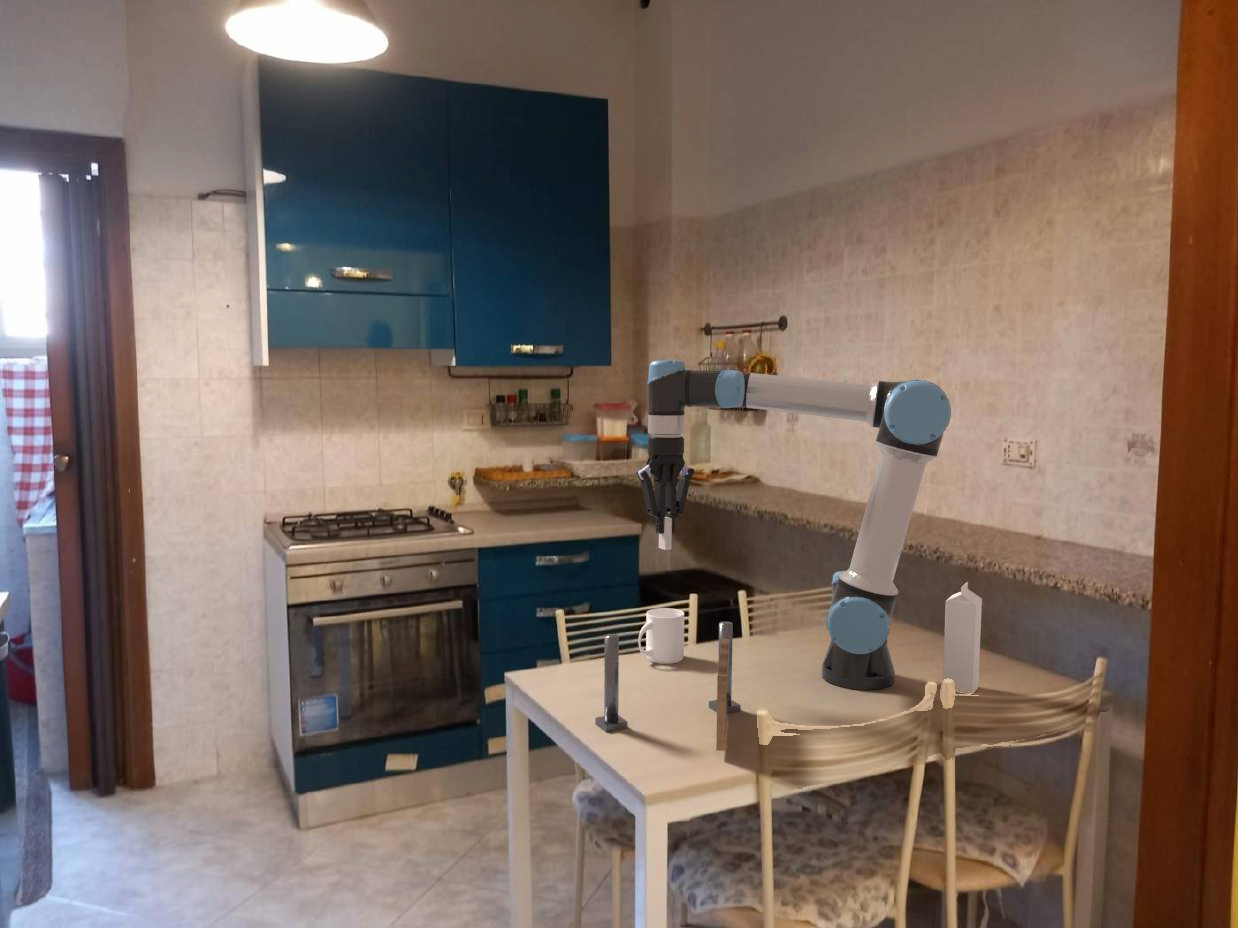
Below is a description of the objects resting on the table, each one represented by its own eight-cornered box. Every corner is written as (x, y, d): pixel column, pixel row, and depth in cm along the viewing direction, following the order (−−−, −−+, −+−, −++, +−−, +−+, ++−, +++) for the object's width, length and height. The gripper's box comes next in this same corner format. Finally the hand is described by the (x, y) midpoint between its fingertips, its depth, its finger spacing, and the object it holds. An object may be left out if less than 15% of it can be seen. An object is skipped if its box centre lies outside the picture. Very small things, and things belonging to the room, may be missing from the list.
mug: (626, 660, 212) (626, 613, 211) (667, 650, 219) (667, 606, 218) (650, 669, 205) (650, 622, 204) (691, 660, 212) (692, 613, 211)
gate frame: (720, 699, 186) (722, 616, 185) (740, 710, 180) (741, 624, 179) (595, 723, 173) (595, 634, 172) (612, 736, 167) (612, 643, 166)
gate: (720, 704, 180) (721, 638, 178) (729, 704, 179) (731, 638, 178) (716, 750, 158) (717, 675, 156) (727, 751, 157) (728, 676, 156)
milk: (978, 687, 194) (983, 583, 192) (972, 696, 189) (977, 589, 187) (948, 682, 198) (953, 579, 195) (941, 690, 192) (946, 585, 190)
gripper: (683, 433, 199) (682, 543, 201) (629, 435, 193) (629, 548, 195) (702, 435, 192) (701, 549, 194) (647, 437, 186) (646, 554, 188)
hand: (665, 548), depth 195 cm, fingers closed
